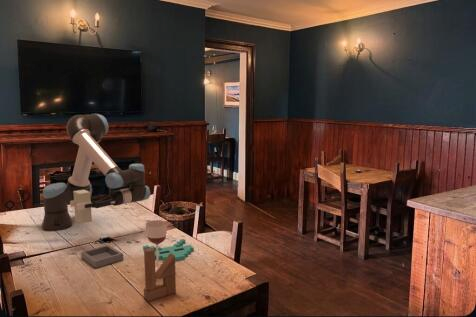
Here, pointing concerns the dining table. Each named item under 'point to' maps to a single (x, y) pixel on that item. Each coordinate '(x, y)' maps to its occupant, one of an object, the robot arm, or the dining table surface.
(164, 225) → the wineglass
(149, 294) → the wooden braced frame
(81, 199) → the tan rectangular block
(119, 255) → the grey tray
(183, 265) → the dining table surface
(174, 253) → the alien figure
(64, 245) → the dining table surface
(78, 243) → the dining table surface
